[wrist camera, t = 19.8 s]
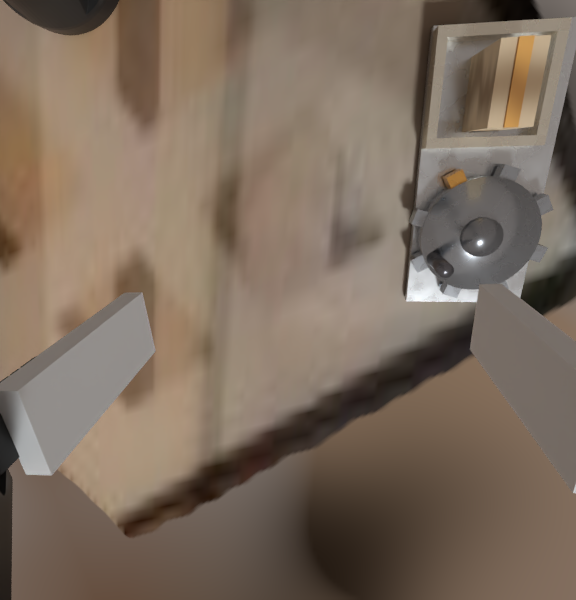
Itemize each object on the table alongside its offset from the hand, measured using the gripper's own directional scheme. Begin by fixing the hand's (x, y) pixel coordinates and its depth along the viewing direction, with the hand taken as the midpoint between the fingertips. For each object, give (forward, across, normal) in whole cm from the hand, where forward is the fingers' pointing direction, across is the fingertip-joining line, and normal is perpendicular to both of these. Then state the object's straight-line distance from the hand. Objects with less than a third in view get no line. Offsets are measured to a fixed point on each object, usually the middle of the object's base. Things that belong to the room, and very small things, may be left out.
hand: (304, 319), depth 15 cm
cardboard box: (+33, +18, +10) cm, 39 cm away
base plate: (+34, +19, +2) cm, 39 cm away
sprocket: (+32, +18, -4) cm, 38 cm away
